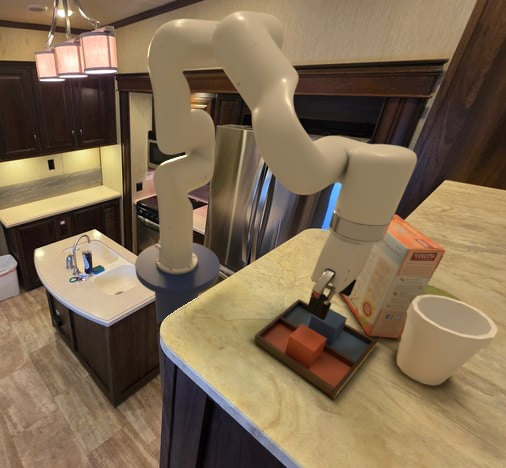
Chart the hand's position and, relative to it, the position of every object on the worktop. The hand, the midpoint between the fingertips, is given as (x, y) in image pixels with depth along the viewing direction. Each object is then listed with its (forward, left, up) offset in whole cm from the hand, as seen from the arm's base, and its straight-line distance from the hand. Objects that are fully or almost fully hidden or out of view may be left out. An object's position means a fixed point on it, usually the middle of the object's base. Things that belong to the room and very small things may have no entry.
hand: (328, 303), depth 55 cm
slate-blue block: (+1, 0, -8) cm, 8 cm away
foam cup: (+15, +5, -8) cm, 18 cm away
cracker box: (+4, +13, -8) cm, 16 cm away
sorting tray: (+1, -4, -8) cm, 9 cm away
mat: (+11, +25, -8) cm, 29 cm away
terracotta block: (+1, -8, -8) cm, 11 cm away
